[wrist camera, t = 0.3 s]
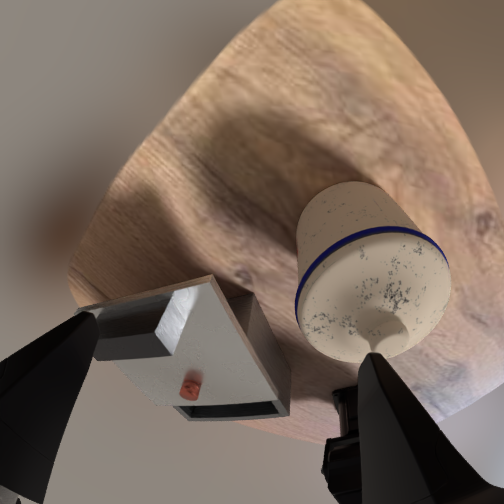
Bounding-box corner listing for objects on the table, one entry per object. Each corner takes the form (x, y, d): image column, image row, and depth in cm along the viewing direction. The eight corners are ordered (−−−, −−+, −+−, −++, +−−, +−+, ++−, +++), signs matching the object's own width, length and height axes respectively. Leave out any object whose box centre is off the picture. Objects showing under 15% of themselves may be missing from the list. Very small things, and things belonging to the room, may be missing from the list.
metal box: (291, 371, 31) (289, 416, 26) (199, 382, 34) (188, 420, 29) (254, 292, 26) (245, 343, 20) (147, 315, 29) (125, 357, 24)
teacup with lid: (268, 236, 23) (253, 354, 13) (352, 151, 18) (422, 217, 8) (364, 313, 26) (388, 422, 16) (438, 251, 21) (501, 349, 11)
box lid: (278, 392, 23) (275, 429, 20) (158, 399, 26) (147, 428, 23) (212, 274, 17) (196, 317, 14) (78, 308, 21) (55, 339, 17)
